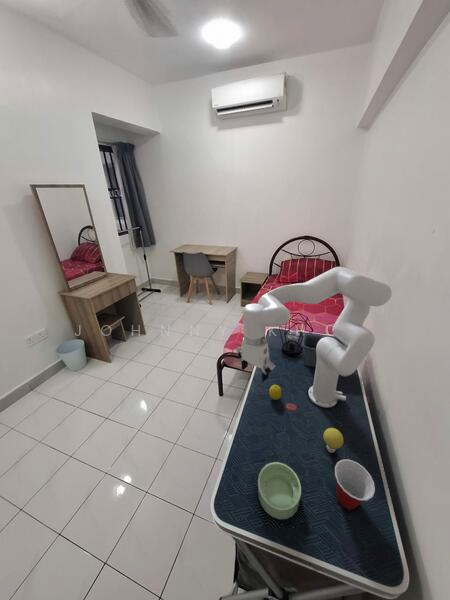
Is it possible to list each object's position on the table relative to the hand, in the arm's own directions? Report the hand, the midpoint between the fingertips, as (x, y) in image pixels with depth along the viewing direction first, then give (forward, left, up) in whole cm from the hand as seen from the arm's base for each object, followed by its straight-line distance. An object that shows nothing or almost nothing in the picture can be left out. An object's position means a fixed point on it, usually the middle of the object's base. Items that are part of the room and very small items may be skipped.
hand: (254, 373), depth 93 cm
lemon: (-7, -12, -25) cm, 29 cm away
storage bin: (-28, -43, -25) cm, 57 cm away
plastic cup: (-34, +21, -25) cm, 47 cm away
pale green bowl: (-13, +26, -25) cm, 38 cm away
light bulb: (-30, +6, -25) cm, 40 cm away
